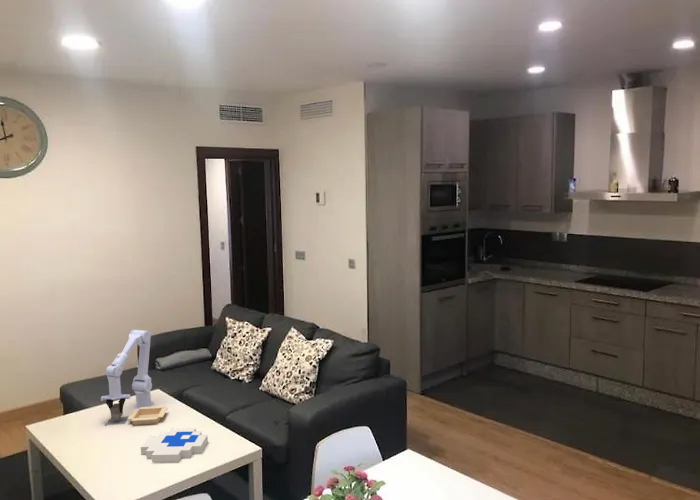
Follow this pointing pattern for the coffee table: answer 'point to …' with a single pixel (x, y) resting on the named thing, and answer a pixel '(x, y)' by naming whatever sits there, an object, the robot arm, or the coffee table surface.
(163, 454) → the pixel art tile
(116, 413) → the walnut block
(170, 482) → the coffee table surface
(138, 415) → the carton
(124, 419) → the slate mat
